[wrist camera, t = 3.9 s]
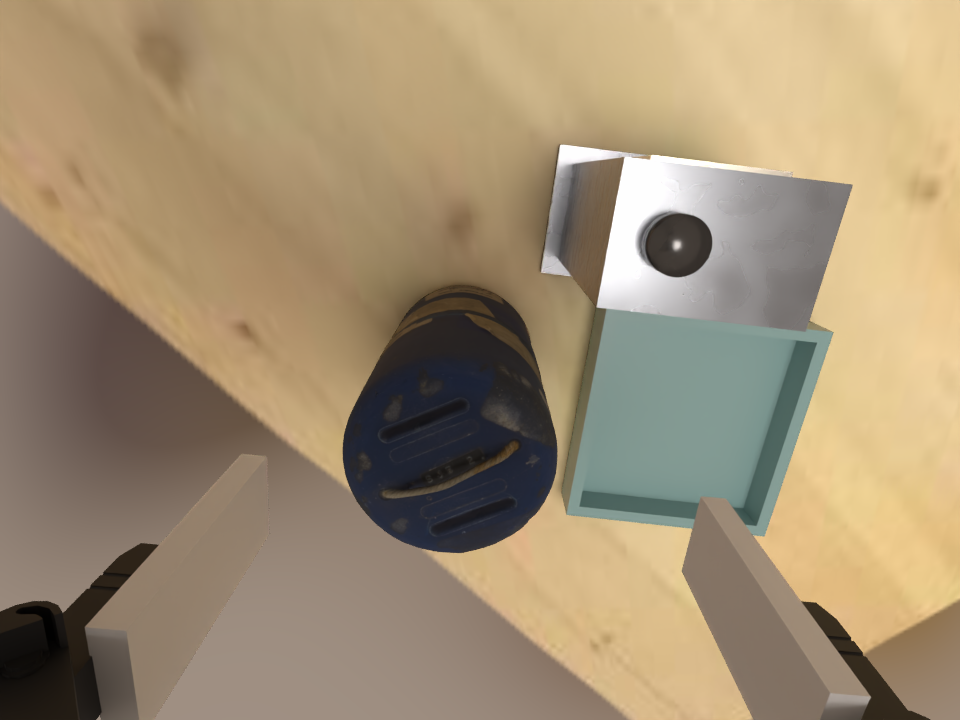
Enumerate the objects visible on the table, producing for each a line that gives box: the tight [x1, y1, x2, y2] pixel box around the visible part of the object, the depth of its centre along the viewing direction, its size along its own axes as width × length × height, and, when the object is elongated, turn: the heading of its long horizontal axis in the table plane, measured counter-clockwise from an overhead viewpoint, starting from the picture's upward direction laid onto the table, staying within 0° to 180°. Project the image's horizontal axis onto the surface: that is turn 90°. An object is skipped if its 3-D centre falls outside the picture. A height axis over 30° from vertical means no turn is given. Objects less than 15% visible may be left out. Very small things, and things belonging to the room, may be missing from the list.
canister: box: [343, 286, 557, 553], centre depth 30 cm, size 10×10×18 cm
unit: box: [540, 144, 853, 332], centre depth 28 cm, size 11×8×16 cm
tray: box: [562, 307, 833, 536], centre depth 39 cm, size 15×16×3 cm
